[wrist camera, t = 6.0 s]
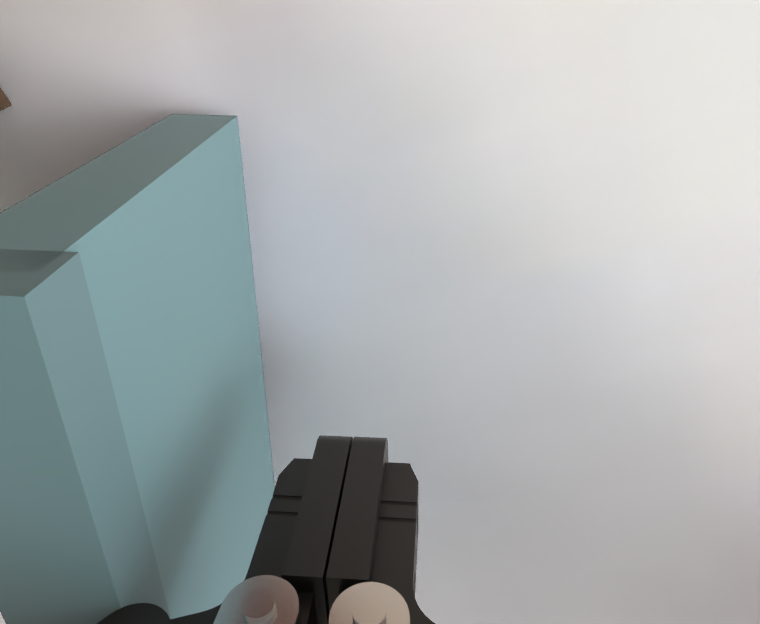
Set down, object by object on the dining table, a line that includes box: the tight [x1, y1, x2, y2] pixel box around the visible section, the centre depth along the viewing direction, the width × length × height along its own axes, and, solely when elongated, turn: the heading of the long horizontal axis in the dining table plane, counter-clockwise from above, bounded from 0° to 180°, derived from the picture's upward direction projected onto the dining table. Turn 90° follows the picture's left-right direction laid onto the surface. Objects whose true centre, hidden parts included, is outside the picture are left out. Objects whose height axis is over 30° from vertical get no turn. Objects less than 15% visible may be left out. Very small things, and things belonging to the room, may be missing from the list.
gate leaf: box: [0, 114, 275, 624], centre depth 15 cm, size 18×2×10 cm, turn 179°
